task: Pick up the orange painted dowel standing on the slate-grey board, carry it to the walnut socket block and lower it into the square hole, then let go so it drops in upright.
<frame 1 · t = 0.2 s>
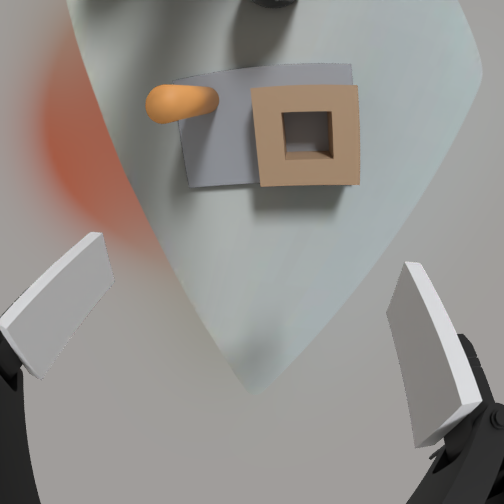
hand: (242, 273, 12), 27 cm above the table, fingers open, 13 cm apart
peg: (205, 100, 32), point 1 cm above the table, touching socket board
socket board: (265, 123, 33), on the table
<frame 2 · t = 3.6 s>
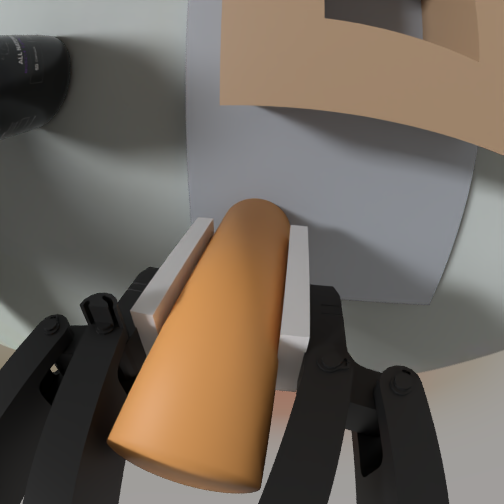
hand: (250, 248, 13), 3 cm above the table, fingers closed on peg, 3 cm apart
supplement bottle: (43, 80, 13), on the table
peg: (256, 230, 15), point 1 cm above the table, touching gripper
socket board: (344, 100, 12), on the table
when the fingers open (7 cm above the table, at t = 7.9 s): peg drops 2 cm, resting on socket board.
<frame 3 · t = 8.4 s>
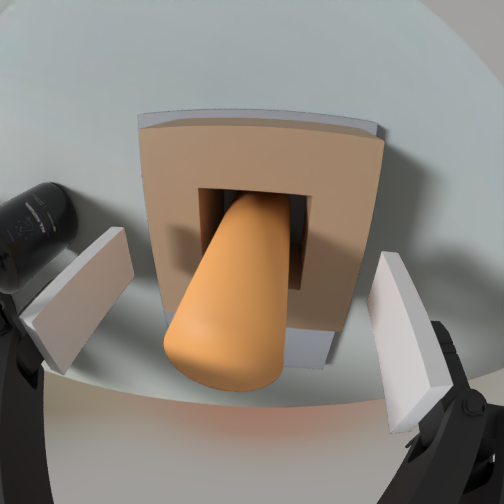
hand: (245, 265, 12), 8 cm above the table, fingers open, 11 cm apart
supplement bottle: (56, 212, 23), on the table
peg: (262, 205, 18), point 1 cm above the table, touching socket board
socket board: (249, 261, 22), on the table
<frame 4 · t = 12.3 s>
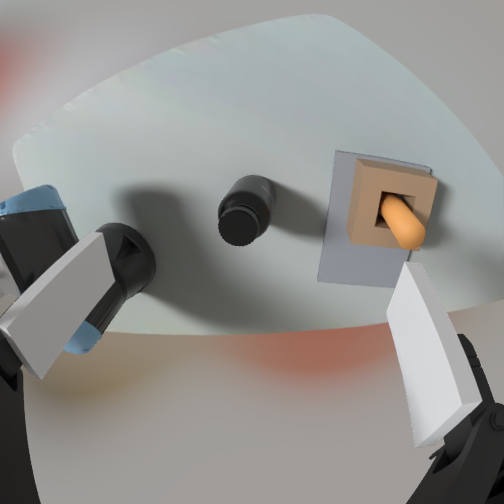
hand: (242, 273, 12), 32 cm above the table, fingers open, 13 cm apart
supplement bottle: (253, 194, 43), on the table
peg: (385, 198, 39), point 1 cm above the table, touching socket board
socket board: (372, 225, 42), on the table
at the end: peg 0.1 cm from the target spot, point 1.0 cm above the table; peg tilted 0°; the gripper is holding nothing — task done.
